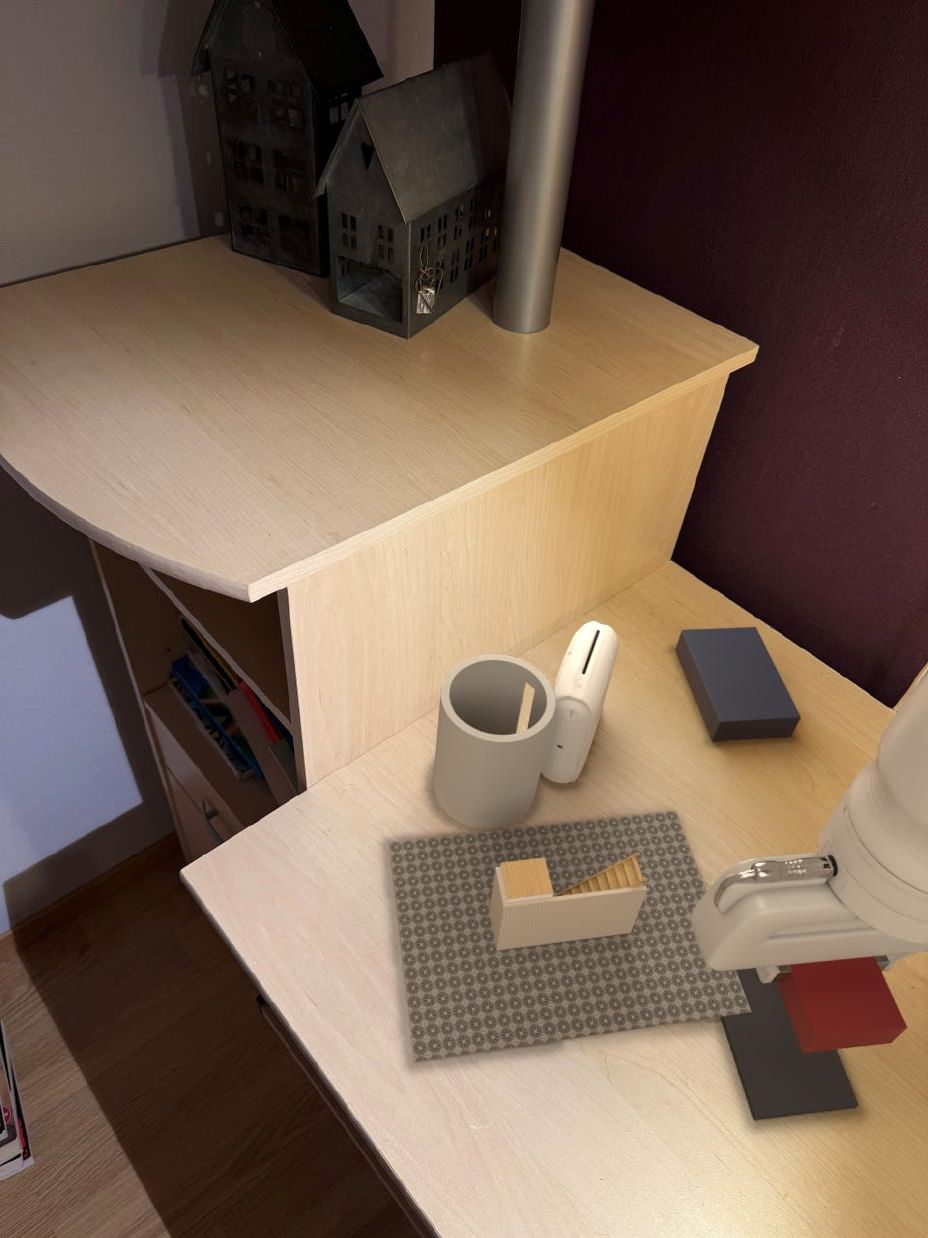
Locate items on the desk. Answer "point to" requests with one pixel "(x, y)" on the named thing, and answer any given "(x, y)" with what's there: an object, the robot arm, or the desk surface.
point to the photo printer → (579, 700)
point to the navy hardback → (736, 684)
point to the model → (552, 934)
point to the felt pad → (781, 1059)
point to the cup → (490, 740)
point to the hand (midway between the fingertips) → (820, 966)
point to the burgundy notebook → (840, 1004)
